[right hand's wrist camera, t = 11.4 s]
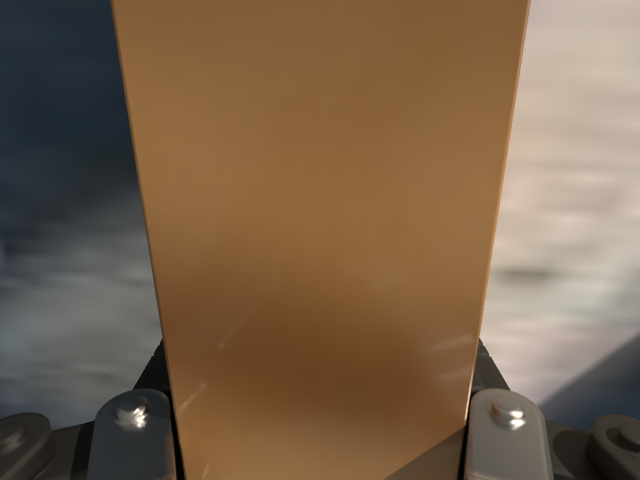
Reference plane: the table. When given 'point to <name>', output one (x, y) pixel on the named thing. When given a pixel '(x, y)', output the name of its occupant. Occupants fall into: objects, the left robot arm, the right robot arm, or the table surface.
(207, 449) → the post
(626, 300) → the table surface
